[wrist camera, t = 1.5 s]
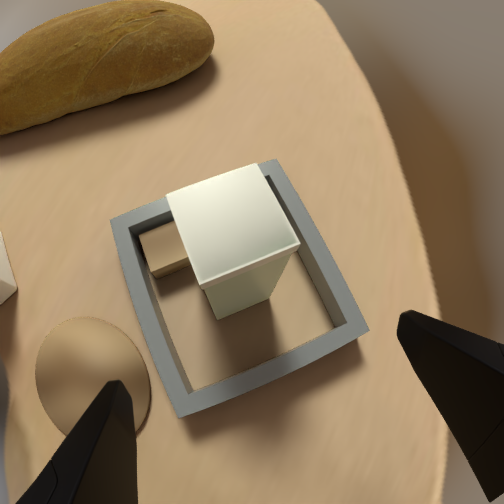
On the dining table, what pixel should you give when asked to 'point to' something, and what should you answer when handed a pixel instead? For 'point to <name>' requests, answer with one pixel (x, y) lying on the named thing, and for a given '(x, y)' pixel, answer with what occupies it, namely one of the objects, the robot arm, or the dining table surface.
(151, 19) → the bread
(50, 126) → the dining table surface
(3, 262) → the medicine bottle
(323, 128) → the dining table surface
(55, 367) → the coaster
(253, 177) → the tall square-topped block
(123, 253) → the grey square frame
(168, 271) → the block
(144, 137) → the dining table surface
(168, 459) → the dining table surface
